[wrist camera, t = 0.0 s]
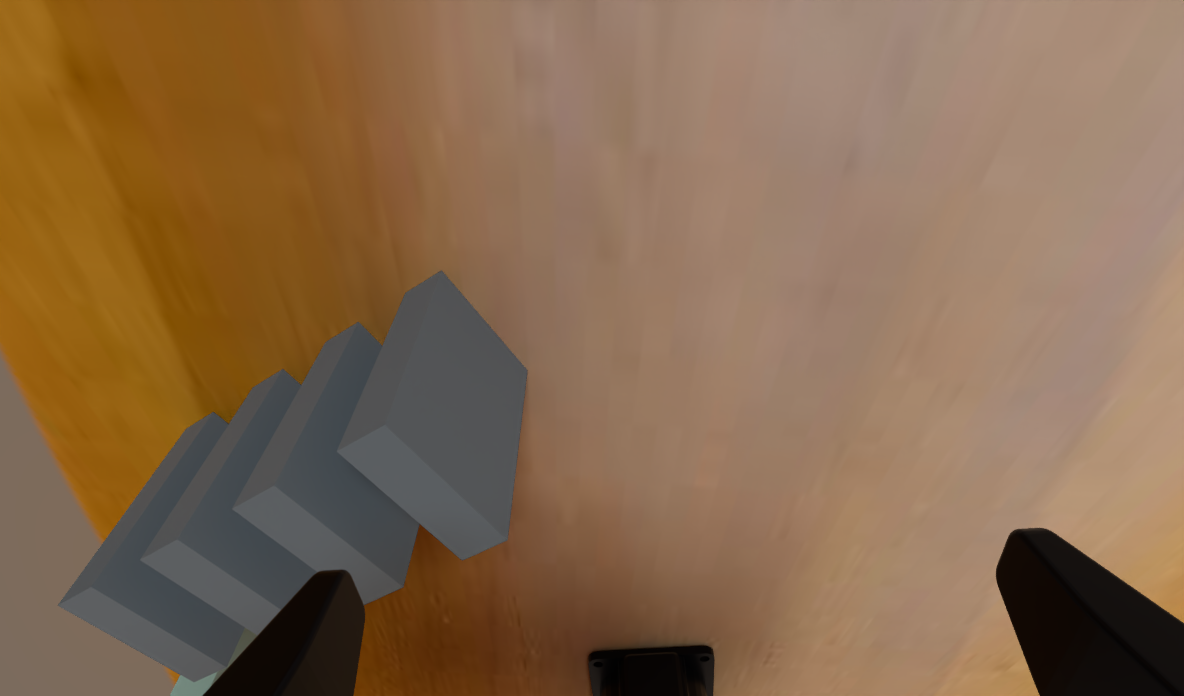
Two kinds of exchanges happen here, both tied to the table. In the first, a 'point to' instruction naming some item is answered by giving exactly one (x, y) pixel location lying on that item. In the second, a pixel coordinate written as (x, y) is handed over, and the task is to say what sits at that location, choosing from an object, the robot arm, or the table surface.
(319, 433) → the domino
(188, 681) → the sage domino
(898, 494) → the table surface
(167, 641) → the domino
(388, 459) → the domino
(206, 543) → the domino
